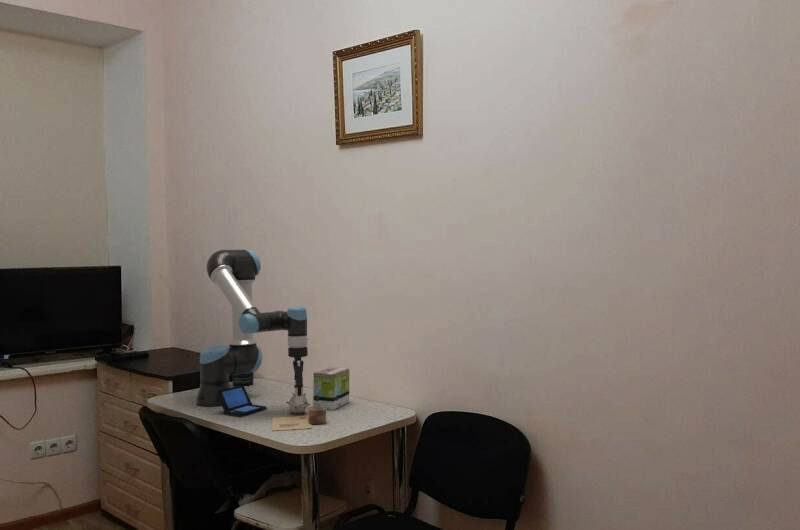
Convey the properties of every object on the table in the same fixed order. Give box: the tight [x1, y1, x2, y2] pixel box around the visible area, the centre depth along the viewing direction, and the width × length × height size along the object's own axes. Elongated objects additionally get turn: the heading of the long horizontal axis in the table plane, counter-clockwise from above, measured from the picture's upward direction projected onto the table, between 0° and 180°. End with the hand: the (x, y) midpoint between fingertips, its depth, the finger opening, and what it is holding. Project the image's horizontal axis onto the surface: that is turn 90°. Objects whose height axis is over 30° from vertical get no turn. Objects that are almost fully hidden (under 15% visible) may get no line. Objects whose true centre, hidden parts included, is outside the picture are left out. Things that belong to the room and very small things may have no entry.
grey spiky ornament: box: [285, 392, 311, 415], centre depth 257 cm, size 9×8×10 cm
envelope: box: [271, 415, 313, 432], centre depth 242 cm, size 14×18×1 cm
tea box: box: [312, 366, 350, 411], centre depth 271 cm, size 15×10×15 cm, turn 161°
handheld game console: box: [217, 385, 267, 418], centre depth 262 cm, size 16×13×9 cm
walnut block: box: [308, 406, 327, 425], centre depth 244 cm, size 6×6×5 cm
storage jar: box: [232, 372, 254, 387], centre depth 315 cm, size 10×10×15 cm
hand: (298, 400), depth 257 cm, fingers open, 13 cm apart
